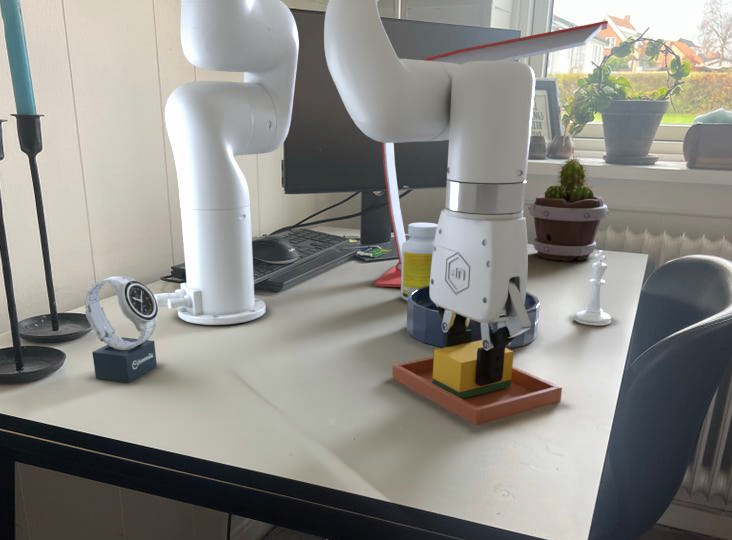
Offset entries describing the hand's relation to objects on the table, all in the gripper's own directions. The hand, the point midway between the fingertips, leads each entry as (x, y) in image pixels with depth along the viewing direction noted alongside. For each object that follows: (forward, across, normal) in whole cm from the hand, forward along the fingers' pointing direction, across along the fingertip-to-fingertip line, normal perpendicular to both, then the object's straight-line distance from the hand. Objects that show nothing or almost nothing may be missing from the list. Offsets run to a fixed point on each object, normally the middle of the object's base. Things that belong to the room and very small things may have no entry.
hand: (472, 373), depth 75 cm
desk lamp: (+3, -40, +31) cm, 51 cm away
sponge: (+1, 0, 0) cm, 1 cm away
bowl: (+2, -16, +13) cm, 21 cm away
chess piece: (+2, -12, +32) cm, 34 cm away
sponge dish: (+2, 0, 0) cm, 2 cm away
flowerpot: (+3, -46, +62) cm, 77 cm away
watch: (+3, -25, -30) cm, 39 cm away
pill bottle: (+3, -34, +18) cm, 38 cm away
